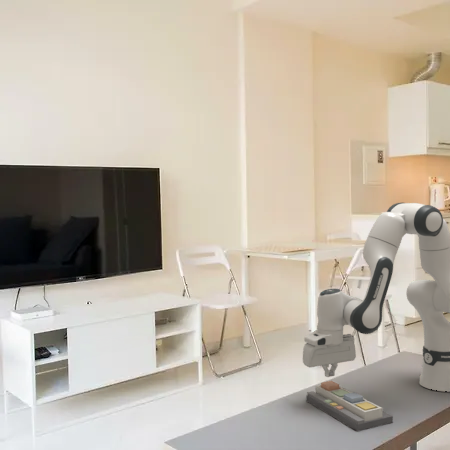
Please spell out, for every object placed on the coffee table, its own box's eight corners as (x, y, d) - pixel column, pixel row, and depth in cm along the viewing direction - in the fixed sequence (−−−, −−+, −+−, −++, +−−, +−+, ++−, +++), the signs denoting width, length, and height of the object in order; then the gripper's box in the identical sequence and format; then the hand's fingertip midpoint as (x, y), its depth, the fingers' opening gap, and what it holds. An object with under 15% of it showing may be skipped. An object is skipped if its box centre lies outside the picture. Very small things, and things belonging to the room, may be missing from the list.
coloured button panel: (339, 394, 193) (339, 380, 193) (392, 422, 169) (392, 406, 169) (306, 400, 187) (306, 386, 187) (357, 431, 163) (357, 415, 163)
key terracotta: (331, 387, 189) (331, 380, 189) (339, 391, 185) (339, 384, 185) (321, 389, 187) (321, 382, 187) (328, 393, 183) (328, 386, 183)
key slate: (354, 399, 178) (354, 392, 178) (363, 404, 174) (363, 396, 174) (343, 401, 176) (343, 394, 176) (352, 406, 172) (352, 398, 172)
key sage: (342, 396, 184) (342, 389, 184) (350, 401, 180) (350, 393, 180) (332, 399, 182) (332, 391, 182) (340, 403, 178) (340, 396, 178)
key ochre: (366, 409, 173) (366, 401, 172) (376, 414, 169) (376, 406, 169) (355, 412, 171) (355, 404, 171) (365, 417, 167) (365, 409, 167)
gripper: (348, 331, 192) (347, 369, 193) (300, 337, 184) (300, 377, 184) (360, 335, 187) (359, 374, 187) (311, 341, 178) (310, 383, 179)
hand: (329, 376), depth 186 cm, fingers closed
